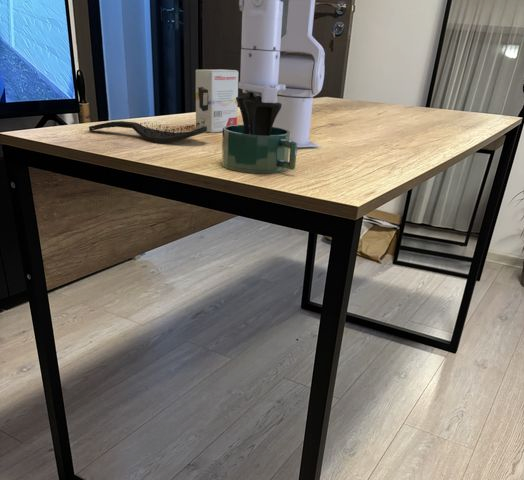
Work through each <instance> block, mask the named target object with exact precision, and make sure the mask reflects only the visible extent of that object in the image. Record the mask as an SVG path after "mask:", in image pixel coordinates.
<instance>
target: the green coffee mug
mask: <svg viewBox="0 0 524 480" xmlns="http://www.w3.org/2000/svg"><path fill="white" fill-rule="evenodd" d="M221 136H222V139H221V141H222V142H221V143H222V145H221V164H222V167H224V168H225V169H228V170H230V171H234V172H238V173H239V172H240V173H245V174H246V173H247V174H277V173H282V172H285V171H287V170H290V171H293V170H295V169H296V165H297V154H298V148H297V143H296V142H293V141H290V137H291V132H290V131H289V130H286V129H283V128H278V127H272V129H271V132H270V135H253V134H245V132H244V125H243V124H237V125H230V126H225V127H223V131H222V135H221Z"/></svg>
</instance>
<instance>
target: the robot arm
mask: <svg viewBox="0 0 524 480" xmlns="http://www.w3.org/2000/svg"><path fill="white" fill-rule="evenodd" d="M287 4H288V5H287V17H286V29H285V34H284V35H283V36H282V28H283V27H282V26H283V12H284V0H238V6H239V11H240V12H241V13H242V15H241V40H240V41H241V45H240V74H239V77H240V78H239V81H238V89H240V90H242V93H243V94H246V95H245V96H238V97H236V100H237V103H238V108H239V111H240V114H241V118H242V123H243V124H242V125H244V132H245V134H249V133H250V134H253V135H270V132H271V129H272V127H278V128H283V129H286V130H289V131H290V132H291V137H290V141H293V142H296V143H297V149H298V148H299V149H300V148H317V147H318V143H314V142H311V141H310V135H311V127H312V126H311V124H312V114H313V104H314V97H316V96H317V95H318V94H319V93H321V91H322V89H323V85H324V80H325V72H326V71H325V67H326V66H325V58H326V57H325V56H326V53H325V49H324V48H323V46H322V45H321V44H320V42H318V41H317V39H315V37H314V36H313V27H314V17H315V8H316V0H288V3H287ZM289 53H290V55H289ZM291 54H302V55H291ZM305 55H312V56H305Z"/></svg>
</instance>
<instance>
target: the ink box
mask: <svg viewBox="0 0 524 480" xmlns="http://www.w3.org/2000/svg"><path fill="white" fill-rule="evenodd" d="M239 72H240V71H238V70H237V69H195V130H197V129H198V128H201V126H202V127H205V126H207V131H206V133H211V134H212V133H220V132H221V133H222V132H223V127H225V126H230V125H238V108H239V105H238V103H237V100H236V97H239ZM204 120H205V123H204V124H203V123H201V122H202V121H204ZM197 122H198V123H200V125H197V126H196V124H197ZM202 124H203V125H202ZM196 127H197V128H196Z"/></svg>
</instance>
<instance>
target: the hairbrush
mask: <svg viewBox="0 0 524 480" xmlns="http://www.w3.org/2000/svg"><path fill="white" fill-rule="evenodd" d="M201 123H203V124H204V123H205V120H204V121H202V122H201ZM149 124H150V123H149V122H148V123H147V124H146V122H144V125H143V124H142V122H140V123H138V122H134V121H124V120H117V121H109V122H103V123H99V124H95V125H90V126H88V130H89V132H92V131H97V130H101V129H109V128H126V129H132V130H134V132H136V133H137V134H138V135H139V136H140V137H141V138H143V139H144V140H146V141H148V142H151V143H158V144H166V143H168V144H169V143H176V142H179V141H180V142H181V141H182V140H186V139H189V138H191V137H195V136H198V135H201V134H203V133H205V132H206V131H207V126H205V127H202V126H201V128H198V129H197V130H196V128H197V127H196V126H197V125H200V123H198V122H197V124H196V123H195V124H190V125H186V126H184V125H183V126H179V127H178V126H171V127H170V126H169V125H167V126H165V125H164V127H163V128H162V125H161V124H159V125H158V123H156V125H155V126H158V127H155V128H152V126H154V123H151V124H150V125H149ZM203 124H202V125H203ZM148 125H149V126H148ZM193 127H195V129H194V128H193ZM158 128H159V129H158ZM160 129H162V130H160ZM189 129H191V130H190V131H186V130H189ZM206 133H207V132H206Z"/></svg>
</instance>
